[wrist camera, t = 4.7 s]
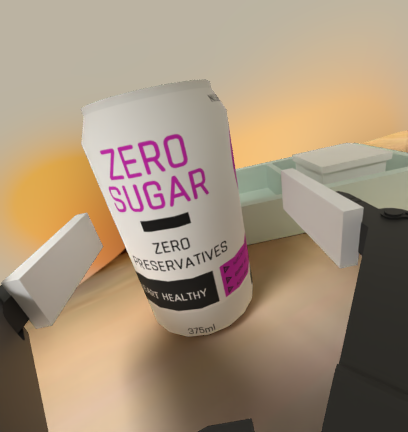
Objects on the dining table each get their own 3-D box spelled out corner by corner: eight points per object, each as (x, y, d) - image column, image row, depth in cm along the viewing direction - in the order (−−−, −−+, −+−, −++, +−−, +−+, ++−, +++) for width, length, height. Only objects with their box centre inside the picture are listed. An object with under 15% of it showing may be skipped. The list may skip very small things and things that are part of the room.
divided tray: (186, 257, 24) (175, 221, 22) (187, 207, 37) (180, 181, 35) (441, 204, 23) (452, 161, 21) (352, 171, 36) (354, 142, 34)
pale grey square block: (321, 207, 26) (321, 167, 24) (293, 187, 33) (292, 154, 31) (386, 193, 26) (392, 151, 24) (345, 176, 33) (347, 142, 31)
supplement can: (219, 254, 24) (185, 94, 17) (277, 303, 17) (253, 66, 10) (145, 291, 21) (71, 117, 14) (176, 368, 14) (61, 100, 8)
